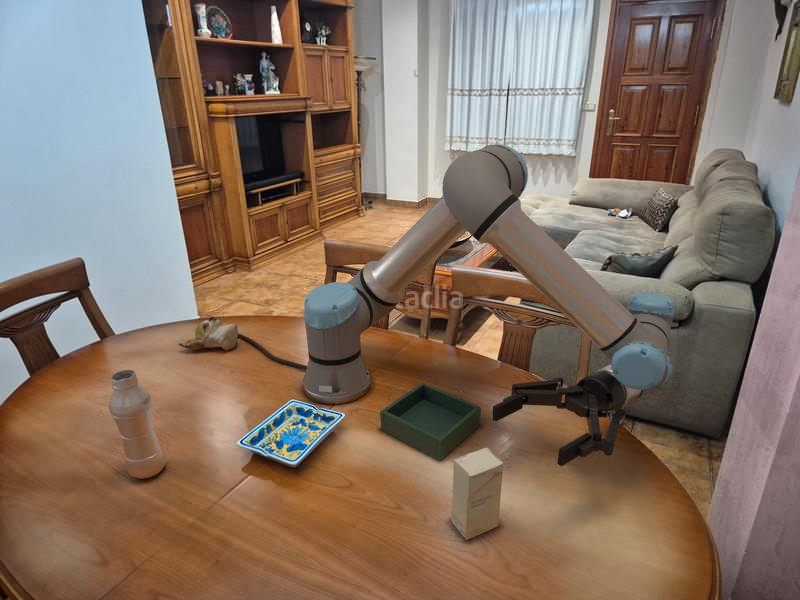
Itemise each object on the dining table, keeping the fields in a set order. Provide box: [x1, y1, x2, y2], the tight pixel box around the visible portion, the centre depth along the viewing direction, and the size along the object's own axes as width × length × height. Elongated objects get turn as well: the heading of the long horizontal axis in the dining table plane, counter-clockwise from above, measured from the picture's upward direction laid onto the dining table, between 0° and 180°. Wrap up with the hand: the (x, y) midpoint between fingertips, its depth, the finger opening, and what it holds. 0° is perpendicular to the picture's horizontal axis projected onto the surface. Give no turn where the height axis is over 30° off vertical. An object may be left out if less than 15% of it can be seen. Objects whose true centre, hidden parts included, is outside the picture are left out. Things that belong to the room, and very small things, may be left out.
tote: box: [379, 382, 482, 462], centre depth 102 cm, size 15×14×4 cm
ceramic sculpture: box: [178, 317, 239, 351], centre depth 135 cm, size 11×9×15 cm
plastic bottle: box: [108, 369, 167, 480], centre depth 88 cm, size 6×7×20 cm
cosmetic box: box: [451, 447, 504, 541], centre depth 78 cm, size 6×4×12 cm
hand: (524, 434), depth 80 cm, fingers open, 13 cm apart
